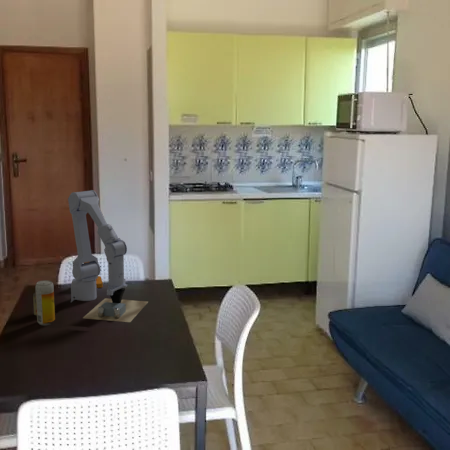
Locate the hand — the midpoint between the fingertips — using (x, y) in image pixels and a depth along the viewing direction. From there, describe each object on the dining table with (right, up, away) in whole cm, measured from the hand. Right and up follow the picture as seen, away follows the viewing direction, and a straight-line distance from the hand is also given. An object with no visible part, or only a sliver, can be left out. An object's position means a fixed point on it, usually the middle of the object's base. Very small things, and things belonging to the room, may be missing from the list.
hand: (116, 307), depth 214 cm
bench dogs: (-1, -2, -8) cm, 8 cm away
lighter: (-27, -2, -2) cm, 27 cm away
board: (0, -2, 0) cm, 2 cm away
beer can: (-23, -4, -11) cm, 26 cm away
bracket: (-16, +5, +31) cm, 35 cm away
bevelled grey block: (-1, -2, -4) cm, 4 cm away
